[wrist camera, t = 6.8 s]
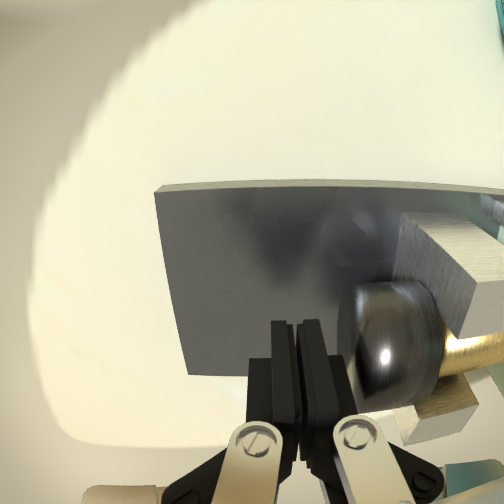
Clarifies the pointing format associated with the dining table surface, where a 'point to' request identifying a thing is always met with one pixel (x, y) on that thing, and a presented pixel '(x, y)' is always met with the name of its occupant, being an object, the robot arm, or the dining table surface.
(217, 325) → the rig
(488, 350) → the shaft
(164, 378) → the dining table surface
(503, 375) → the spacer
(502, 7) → the beverage bottle
